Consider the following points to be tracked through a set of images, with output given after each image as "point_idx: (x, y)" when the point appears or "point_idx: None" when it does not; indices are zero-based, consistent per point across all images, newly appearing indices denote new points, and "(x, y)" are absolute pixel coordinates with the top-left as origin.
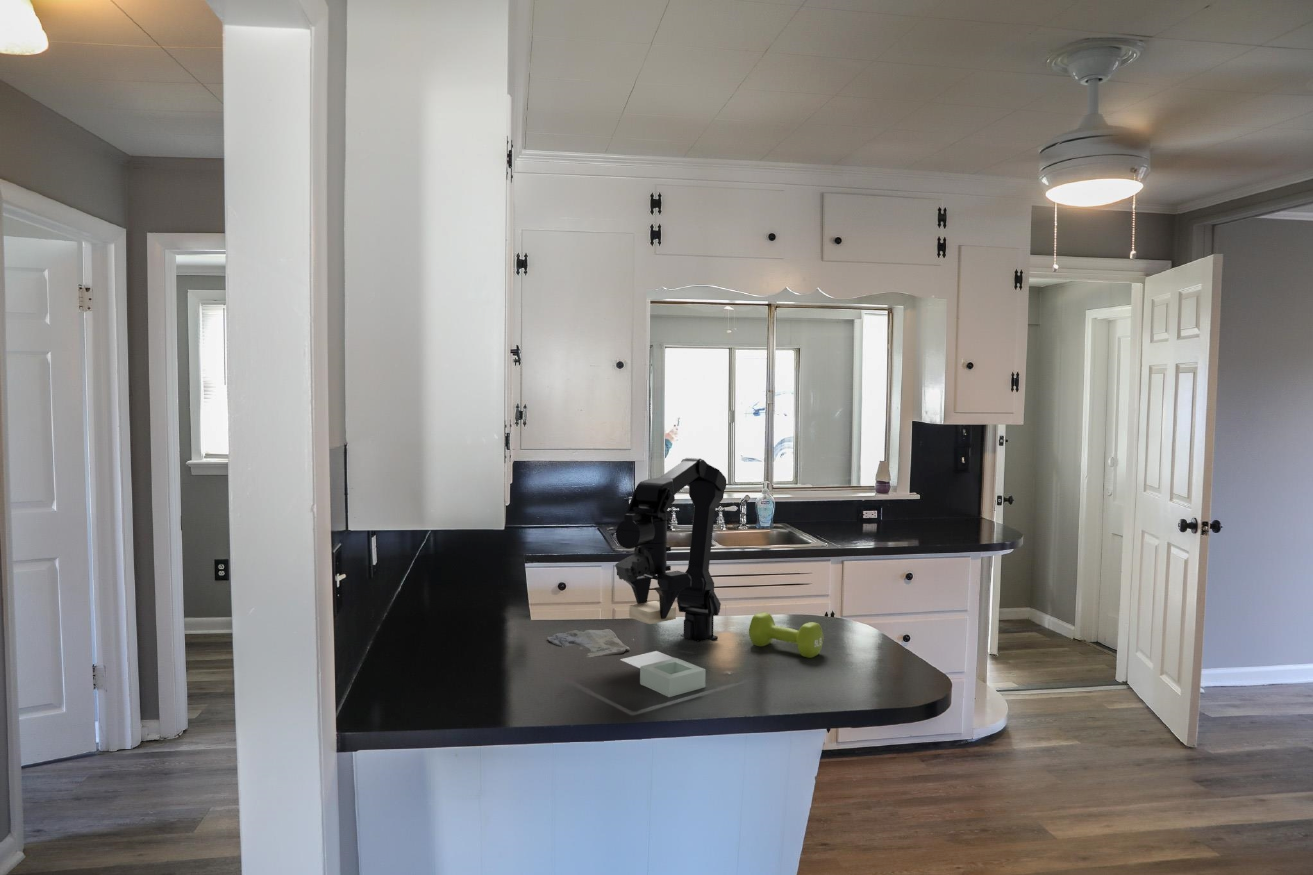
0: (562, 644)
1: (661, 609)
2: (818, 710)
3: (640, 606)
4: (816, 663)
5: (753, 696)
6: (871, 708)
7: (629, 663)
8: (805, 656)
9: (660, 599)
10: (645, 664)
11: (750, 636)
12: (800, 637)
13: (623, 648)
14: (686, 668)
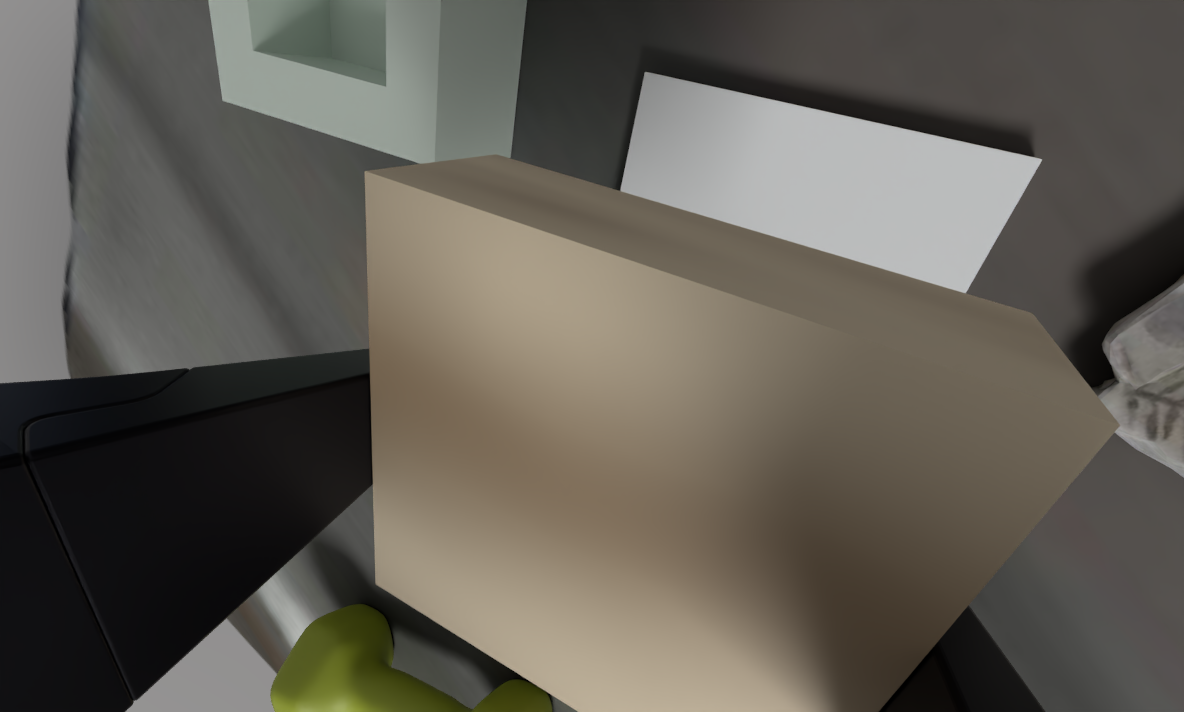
0: None
1: (311, 361)
2: (82, 197)
3: (765, 455)
4: (325, 564)
5: (207, 175)
6: (72, 297)
7: (887, 131)
8: (369, 607)
9: (109, 413)
10: (757, 194)
11: (521, 710)
12: (315, 652)
13: (1133, 358)
14: (305, 63)
